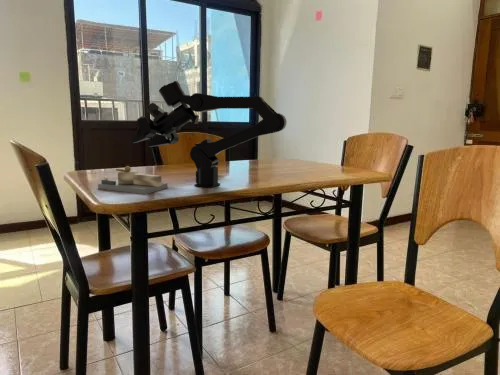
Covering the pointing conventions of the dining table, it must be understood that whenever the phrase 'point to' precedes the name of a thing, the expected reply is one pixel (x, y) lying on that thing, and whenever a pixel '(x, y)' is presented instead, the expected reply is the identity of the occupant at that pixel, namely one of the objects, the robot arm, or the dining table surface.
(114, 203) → the dining table surface
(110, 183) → the level stand
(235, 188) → the dining table surface
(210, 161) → the robot arm
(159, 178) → the cream stepped block
